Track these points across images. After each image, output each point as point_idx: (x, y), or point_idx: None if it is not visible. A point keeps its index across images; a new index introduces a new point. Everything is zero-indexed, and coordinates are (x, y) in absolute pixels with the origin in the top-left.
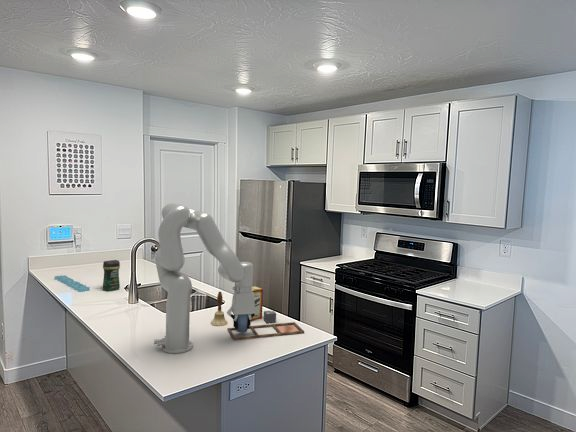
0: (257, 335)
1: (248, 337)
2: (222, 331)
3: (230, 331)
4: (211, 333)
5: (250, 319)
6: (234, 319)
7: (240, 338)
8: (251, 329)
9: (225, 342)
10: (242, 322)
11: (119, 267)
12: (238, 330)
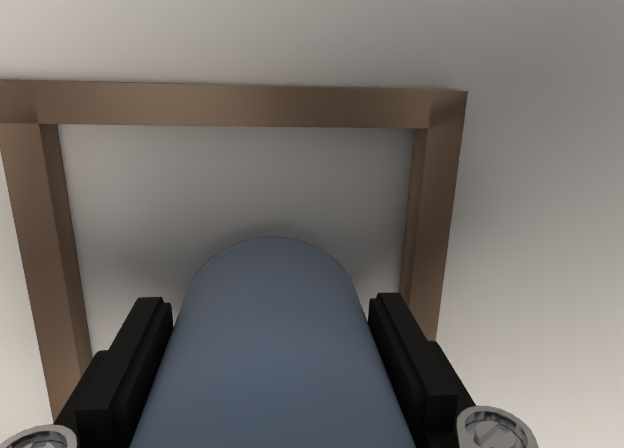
0: (24, 101)
1: (205, 84)
2: None
3: None
4: (610, 386)
5: (41, 442)
6: (515, 440)
7: (344, 88)
8: None
9: (577, 49)
10: (300, 335)
11: None
12: (345, 279)
